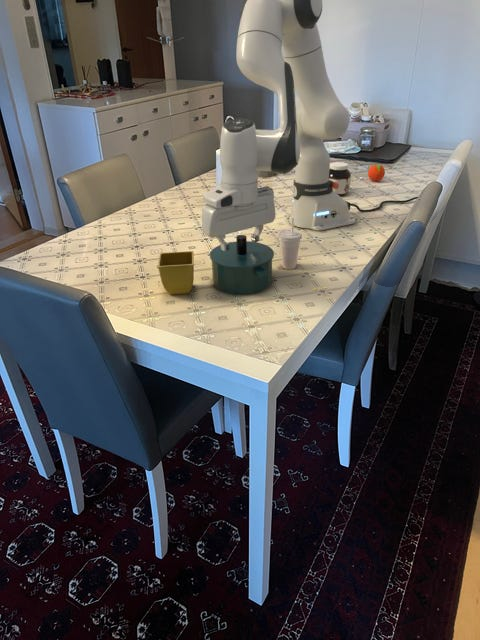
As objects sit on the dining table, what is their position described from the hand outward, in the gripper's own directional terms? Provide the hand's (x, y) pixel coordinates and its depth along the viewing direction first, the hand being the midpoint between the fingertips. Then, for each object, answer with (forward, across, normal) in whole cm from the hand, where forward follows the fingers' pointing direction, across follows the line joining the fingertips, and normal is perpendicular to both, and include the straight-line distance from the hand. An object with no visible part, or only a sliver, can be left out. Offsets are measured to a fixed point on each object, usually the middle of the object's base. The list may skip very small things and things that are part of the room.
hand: (240, 245), depth 126 cm
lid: (+3, 0, 0) cm, 3 cm away
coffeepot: (+10, -69, -82) cm, 108 cm away
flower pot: (+10, +16, -6) cm, 20 cm away
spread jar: (+10, -75, -42) cm, 87 cm away
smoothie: (+10, -16, 0) cm, 19 cm away
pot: (+10, 0, 0) cm, 10 cm away
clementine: (+10, -100, -43) cm, 109 cm away
